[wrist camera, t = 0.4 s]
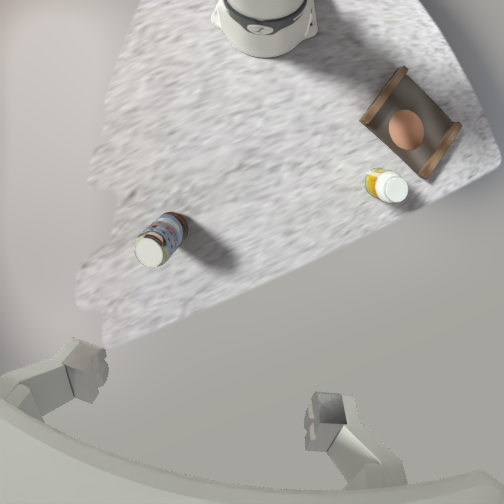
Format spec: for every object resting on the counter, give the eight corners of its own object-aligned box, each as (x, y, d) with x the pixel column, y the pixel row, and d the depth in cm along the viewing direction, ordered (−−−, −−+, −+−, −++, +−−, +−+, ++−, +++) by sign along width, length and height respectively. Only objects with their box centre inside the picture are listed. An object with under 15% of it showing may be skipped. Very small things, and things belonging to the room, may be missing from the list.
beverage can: (195, 221, 56) (179, 240, 45) (177, 253, 58) (158, 279, 47) (166, 203, 55) (143, 218, 44) (149, 236, 57) (124, 258, 46)
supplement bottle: (376, 161, 52) (397, 165, 43) (394, 182, 53) (418, 189, 44) (357, 181, 53) (375, 189, 44) (376, 202, 54) (396, 213, 45)
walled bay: (419, 177, 52) (427, 178, 49) (359, 120, 49) (364, 119, 46) (454, 125, 48) (462, 125, 45) (397, 68, 45) (404, 65, 43)
